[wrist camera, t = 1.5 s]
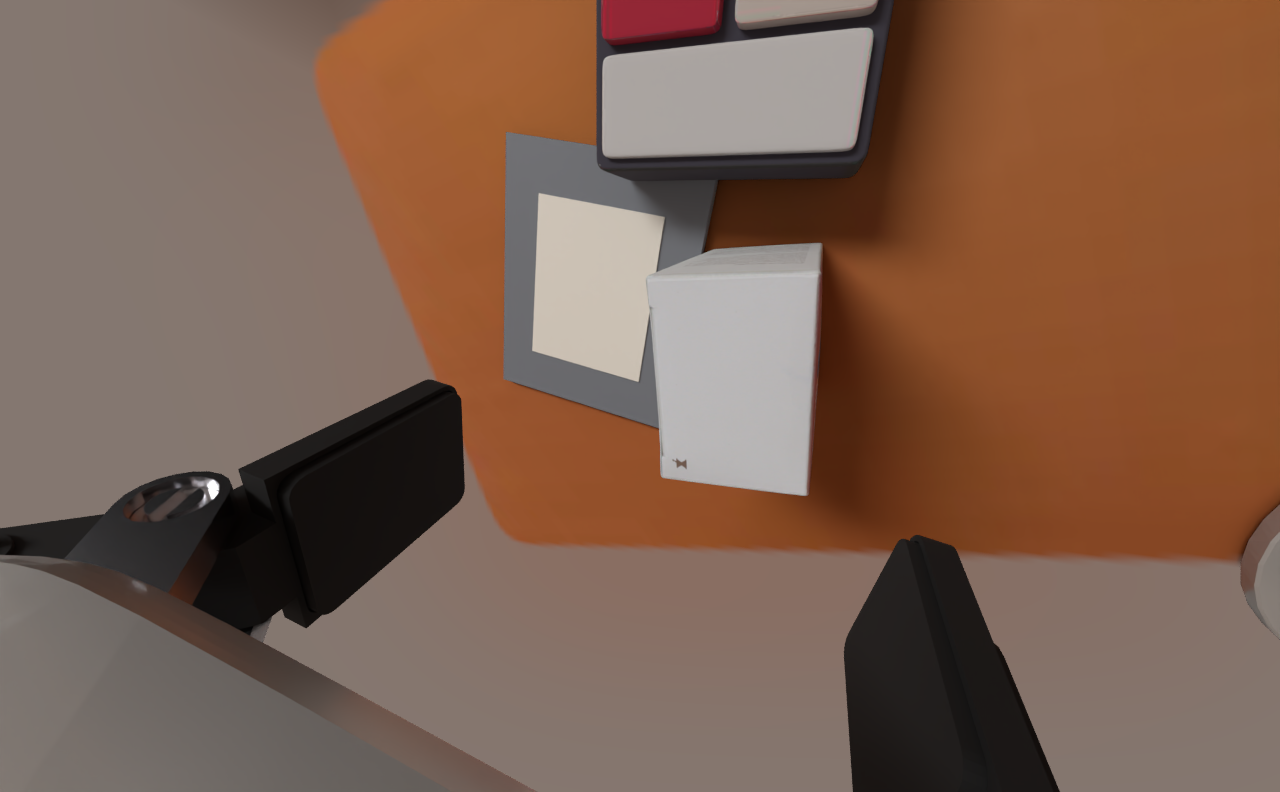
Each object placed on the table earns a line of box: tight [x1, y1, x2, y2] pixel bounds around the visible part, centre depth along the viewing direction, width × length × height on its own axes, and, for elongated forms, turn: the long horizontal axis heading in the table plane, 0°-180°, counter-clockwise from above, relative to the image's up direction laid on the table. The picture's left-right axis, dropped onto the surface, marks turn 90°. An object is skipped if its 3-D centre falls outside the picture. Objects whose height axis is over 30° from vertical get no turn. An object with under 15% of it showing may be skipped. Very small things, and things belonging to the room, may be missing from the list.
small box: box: [646, 243, 823, 496], centre depth 20 cm, size 8×6×10 cm
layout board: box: [504, 132, 718, 428], centre depth 27 cm, size 12×15×1 cm
